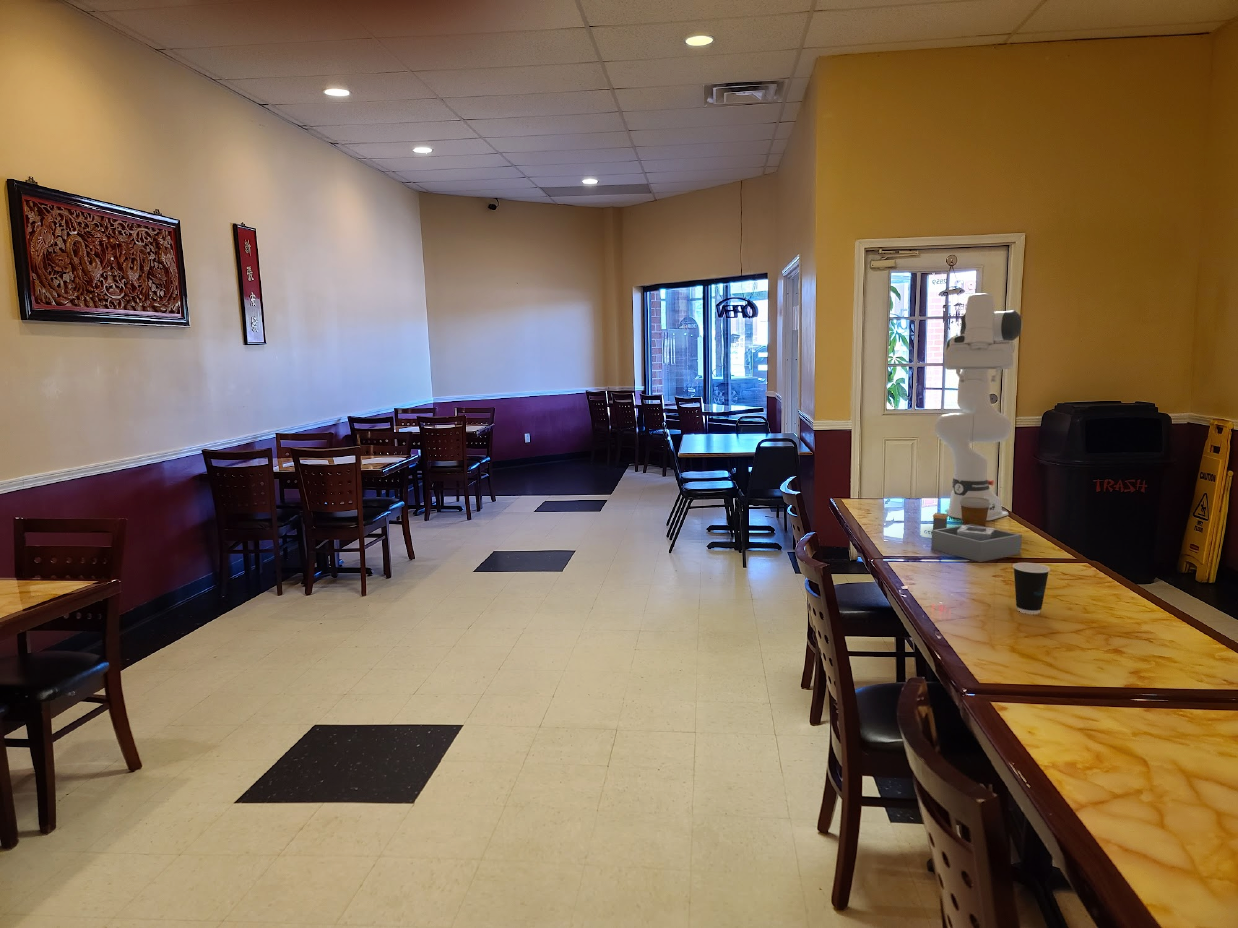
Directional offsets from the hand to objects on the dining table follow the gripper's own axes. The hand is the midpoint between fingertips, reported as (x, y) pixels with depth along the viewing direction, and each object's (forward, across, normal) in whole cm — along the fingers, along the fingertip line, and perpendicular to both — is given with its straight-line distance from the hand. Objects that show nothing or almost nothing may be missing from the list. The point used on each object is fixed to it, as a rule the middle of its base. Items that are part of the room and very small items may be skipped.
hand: (977, 381), depth 248 cm
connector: (+50, +10, -15) cm, 53 cm away
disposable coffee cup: (+47, -1, -24) cm, 53 cm away
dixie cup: (+73, -12, +52) cm, 91 cm away
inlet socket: (+55, -1, 0) cm, 55 cm away
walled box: (+55, -1, 0) cm, 55 cm away
